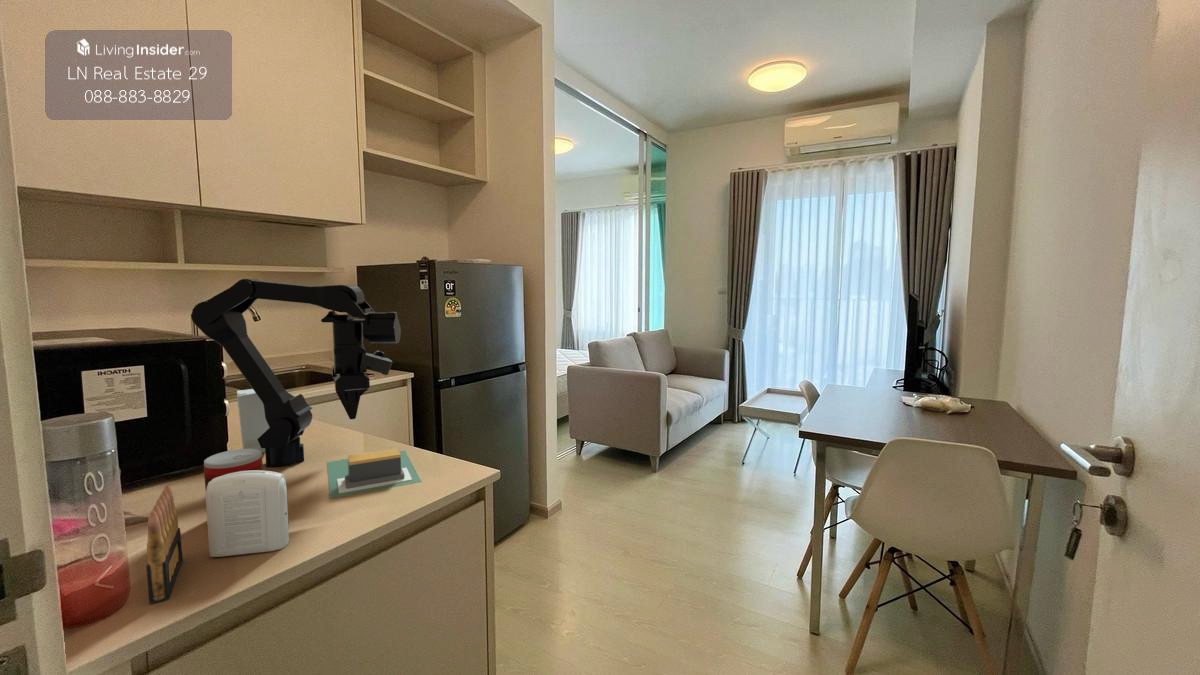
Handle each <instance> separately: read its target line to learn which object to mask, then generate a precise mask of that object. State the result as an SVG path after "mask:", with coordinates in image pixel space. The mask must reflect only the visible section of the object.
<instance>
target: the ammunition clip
mask: <svg viewBox="0 0 1200 675" xmlns="http://www.w3.org/2000/svg"><path fill="white" fill-rule="evenodd" d="M174 500H175V498H174V495H173V492H172V489H171V487H170V486H169V485H168V484H167V485H165V487H164V489H163V490H162V492H161V494H160V495H159V496H158V499H157V501H156V502H155V504H154V505H153V508H152V510H151V511H150V514H149V516H148V520H147V521H148V522H147V542H146V551H147V561H148V562H147V564H146V578H147V587H148V589H147V590H148V592H147V593H148V601H149V605H153V604H157V603H160V602H165V601H169V600H170V599H171V598H170V597H171V595H172V592H173V589H174V586H175V583H176V581H177V577H178V575H179V572H180V569H181V567H182V564H183V562H184V556H183V547H182V544H183V543H182V536H181V527H179V522H178V512H177V509H176V507H175V501H174Z"/></svg>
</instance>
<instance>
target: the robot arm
mask: <svg viewBox="0 0 1200 675" xmlns="http://www.w3.org/2000/svg"><path fill="white" fill-rule="evenodd" d="M258 299H259V300H268V301H279V302H288V303H289V302H290V303H300V304H309V305H314V306H317V307H320V308H322V309H326V310H328V313H327V314H326V315H325V316H324V317H323V318H321V319H320V322H322V323H331V324H332V325H331V326H332V342H333V343H332V344H333V345H332V346H333V347H332V350H333V351H332V352H333V366H331V376H332V380H333V383H334V391H335V394H336V395H337V396H338V398H339V400H340V403H341V405H342V406H343V409H344V410H345V412H346V414H347V416H348V419H349V420H356V418H357V414H358V408H359V404H360V401H361V396H362V395H363V394H364V393H366V392H367V391H369V388H371V387H370V382H371V381H370V378H369V376H368V375H367V374H366V373H367V372H368V370H369V371H372V372H376V373H380V374H381V375H385V376H388V375H389V374H390V370H391V367H392V364H393V360H391V359H390V358H388V357H385V352H383V351H380V350H375V351H374V352H373V353H369V352H367V351H366V350H367V349H366V348H365V347H364V339H365V340H366V341H367V340H368V342H369V344H399V343H400V340H401V335H402V334H401V332H402V327H401V326H402V325H400V320H399V318H398V312H397V311H389V312H376V311H375V310H374V309H373V308H372V307H371V305H370V304H369V303H368V302H367V301H366V298H365V294H364V291H363V290H362V289H361V288H360V287H359V286H357V285H355V284H337V285H336V284H334V285H333V284H332V285H319V286H318V285H317V286H316V285H305V284H297V283H295V284H294V283H287V282H278V281H268V280H260V279H257V278H242V279H240V280H238V281H237V282H235V283H234V284H233V285H231V286H230V287H228V288H227V289H224V290H223V291H221V292H219V293H218V294H216V295H214V296H212V297H211V298H210V299H208V300H205V301H201V302H198V303H197V304H196V305H195V306H194V307H193V309H192V312H191V313H190V319H191V322H192V323H193V324H194V325H195V327H197V329H199V330H200V331H201V332H202V333H203V334H204V336H206V337H207V338H209V339H210V340H212V341H214V342H216V343H217V344H218V345H220V346H221V347H222V348H223V349H224V350H225V352H226V353H227V355H228V356H229V358H230V359H231V360H232V362H233V363H234V364H235V366H236V368H237V369H238V370H239V372H240V373H241V374H242V376H243V377H244V378H245V380H246V382H247V383H248V384H249V386H250V387H251V389H253V390H254V391H255V393H256V394H257V396H258V397H259V398H260V400H261V401H262V403H263V405H264V413H265V419H266V421H267V423H268V425H269V429H268V430H267V431H265V432H264V433H263V434H262V435H261V436H260V437H259V438H258V439H257V440H258V442H259V444H260V446H261V448H265V452H264V456H265V468H273V469H274V468H275V469H276V468H277V469H278V468H286V467H289V466H293V465H296V464H300V463H303V462H305V448H304V447H305V446H304V443H301V436H303V435H304V433H305V429H307V428H308V427H309V426H310V424H312V420H313V414H312V411H311V410H313V407H312V406H310V405H309V404H308V403H307V401H306V399H305V397H304V396H303V394H302V393H299V394H297V395H295V396H294V394H293V395H292V394H291V393H289V392H288V391H287V390H286V389H285V387H284V386H283V385H282V383H281V381H280V380H279V379H278V377H277V376H276V374H275V373H274V371H273V370H272V369H271V367H270V366H269V364H268V363H267V361H266V360H265V358H264V357H263V356H262V354H261V353H260V351H259V350H258V348H257V347H256V346H255V344H254V343H253V341H252V340H251V338H250V337H249V335H248V330H247V328H248V327H247V323H246V320H245V317H244V315H243V314H244V313H245V312H246V311H248V310H249V309H251V307H252V306H253V305H254V303H255V302H256V301H257V300H258ZM329 310H330V311H329ZM337 312H338V313H337ZM339 313H341V314H339ZM343 313H344V314H343ZM345 313H346V314H345Z"/></svg>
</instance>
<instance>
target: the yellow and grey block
mask: <svg viewBox="0 0 1200 675" xmlns="http://www.w3.org/2000/svg"><path fill="white" fill-rule="evenodd" d="M399 451H400V450H399V449H398V447H397V448H389V449H384V450H376V451H370V452H363V453H356V454H351V455H347V459H348V476H349V481H350V482H355V481H361V480H367V479H372V478H378V477H384V476H390V475H395V474H401V454H400V452H399Z"/></svg>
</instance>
